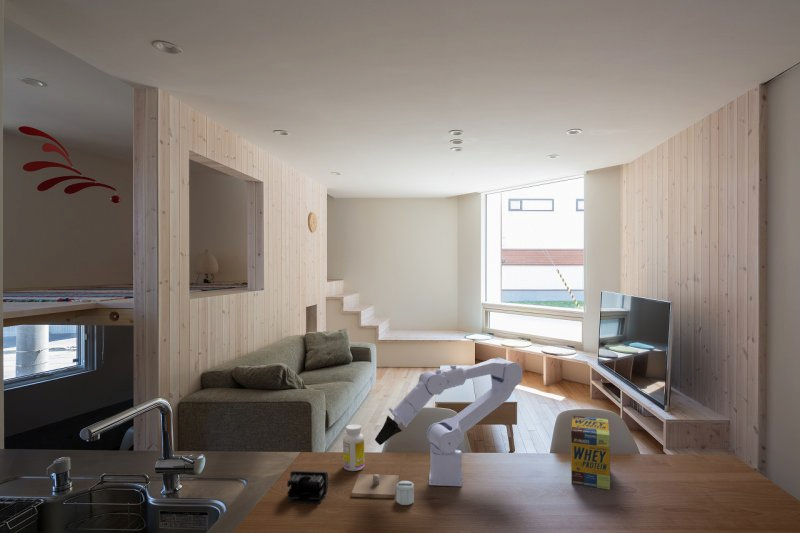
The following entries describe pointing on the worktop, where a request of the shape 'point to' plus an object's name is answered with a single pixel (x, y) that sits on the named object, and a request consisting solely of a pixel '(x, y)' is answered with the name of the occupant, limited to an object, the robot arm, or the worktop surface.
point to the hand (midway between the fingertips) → (377, 442)
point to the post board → (375, 486)
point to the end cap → (307, 487)
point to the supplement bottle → (353, 448)
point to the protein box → (590, 452)
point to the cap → (405, 492)
